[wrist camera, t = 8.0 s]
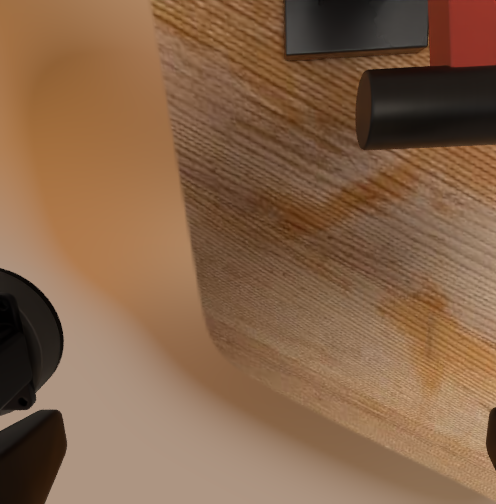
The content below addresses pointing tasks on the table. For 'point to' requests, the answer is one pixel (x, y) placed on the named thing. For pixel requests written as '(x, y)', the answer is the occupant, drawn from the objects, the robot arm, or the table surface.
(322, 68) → the table surface
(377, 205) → the table surface
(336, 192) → the table surface
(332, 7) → the bracket
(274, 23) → the table surface
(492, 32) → the lever
